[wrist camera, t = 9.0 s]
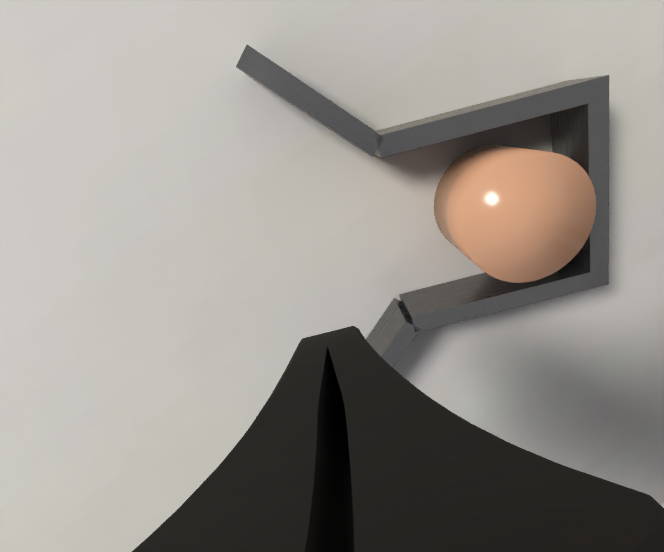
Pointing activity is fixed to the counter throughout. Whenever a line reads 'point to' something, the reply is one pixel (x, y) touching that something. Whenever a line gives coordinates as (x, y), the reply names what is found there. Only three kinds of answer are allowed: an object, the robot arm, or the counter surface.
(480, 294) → the gray zigzag divider
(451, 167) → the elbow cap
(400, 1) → the counter surface
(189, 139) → the counter surface
